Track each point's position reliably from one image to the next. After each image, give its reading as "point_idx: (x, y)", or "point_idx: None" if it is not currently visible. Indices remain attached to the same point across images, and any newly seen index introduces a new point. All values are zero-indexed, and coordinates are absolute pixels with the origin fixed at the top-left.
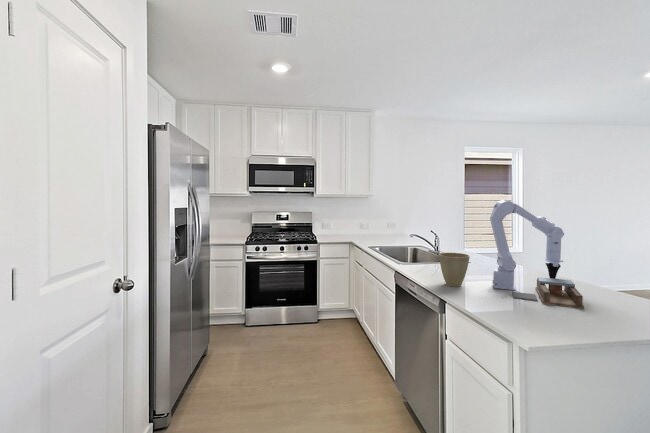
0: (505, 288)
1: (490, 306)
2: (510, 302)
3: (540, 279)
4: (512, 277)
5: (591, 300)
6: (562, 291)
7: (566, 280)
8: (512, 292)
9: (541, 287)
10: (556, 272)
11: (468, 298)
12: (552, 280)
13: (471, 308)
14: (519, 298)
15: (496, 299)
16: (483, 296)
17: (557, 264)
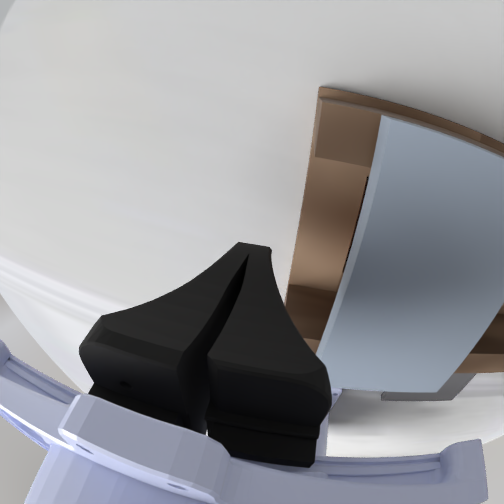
0: (330, 409)
1: (493, 423)
2: (483, 400)
3: (396, 386)
4: (318, 445)
5: (483, 39)
6: (364, 168)
7: (427, 191)
8: (387, 398)
9: (483, 369)
10: (277, 300)
11: (431, 451)
12: (431, 327)
13: (490, 438)
14: (461, 386)
15: (450, 422)
16: (419, 439)
17: (477, 477)
